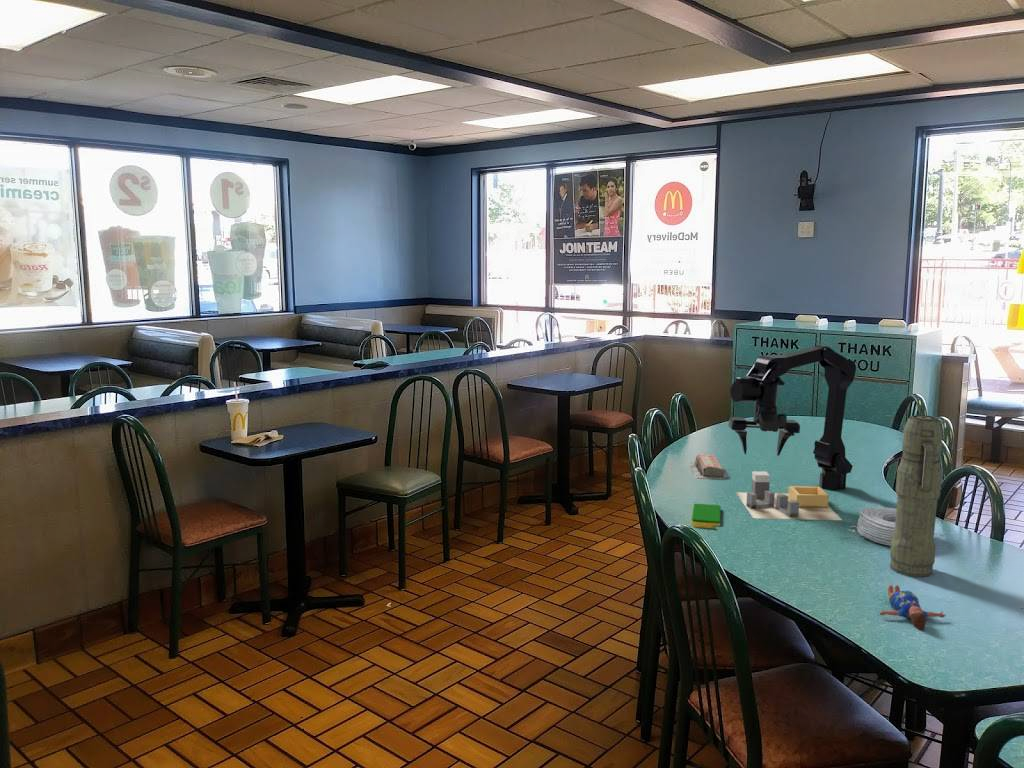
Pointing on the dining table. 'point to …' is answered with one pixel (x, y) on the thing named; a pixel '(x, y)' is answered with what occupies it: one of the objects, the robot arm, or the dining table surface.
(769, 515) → the board
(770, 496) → the clip
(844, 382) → the robot arm
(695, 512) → the dish sponge
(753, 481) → the connector plug
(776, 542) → the dining table surface
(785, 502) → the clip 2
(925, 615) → the toy character
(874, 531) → the cable
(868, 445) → the dining table surface
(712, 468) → the packaged product
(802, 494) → the end holder
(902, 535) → the thermos
